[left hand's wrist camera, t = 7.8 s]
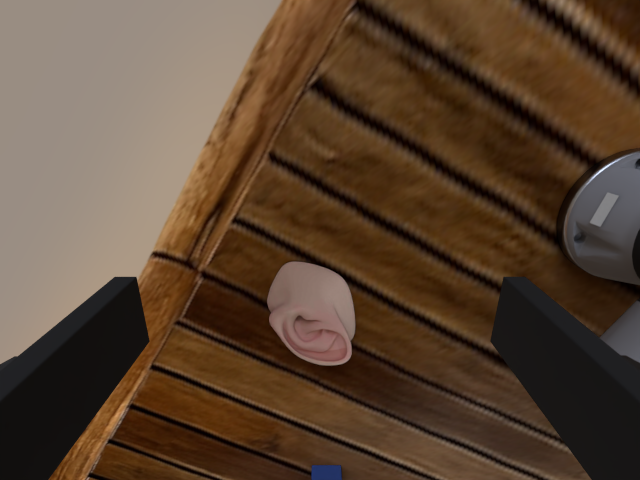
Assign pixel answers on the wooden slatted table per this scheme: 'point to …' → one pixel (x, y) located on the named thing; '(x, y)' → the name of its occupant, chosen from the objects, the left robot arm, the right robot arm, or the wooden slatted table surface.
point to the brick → (326, 472)
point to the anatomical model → (312, 313)
